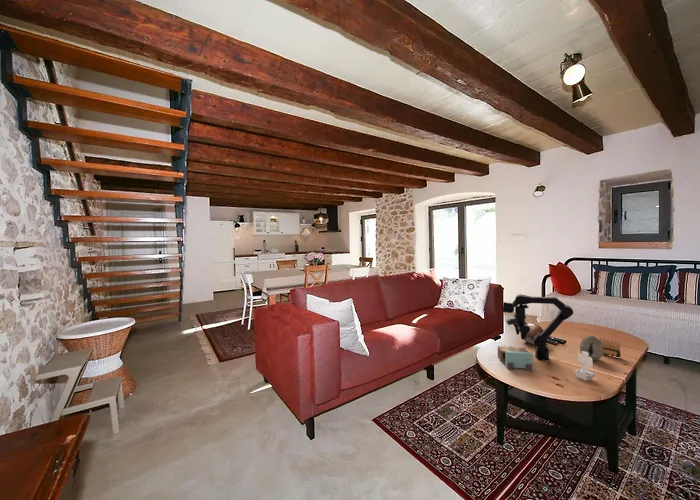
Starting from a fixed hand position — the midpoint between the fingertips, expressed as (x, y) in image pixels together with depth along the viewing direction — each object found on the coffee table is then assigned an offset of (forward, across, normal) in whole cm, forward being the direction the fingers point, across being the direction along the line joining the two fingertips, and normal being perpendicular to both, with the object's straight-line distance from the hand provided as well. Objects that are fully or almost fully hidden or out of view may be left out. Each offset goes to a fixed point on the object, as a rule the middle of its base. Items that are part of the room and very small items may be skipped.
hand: (519, 336), depth 194 cm
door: (+11, +21, -7) cm, 25 cm away
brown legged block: (+12, +15, -7) cm, 20 cm away
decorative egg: (+12, 0, +41) cm, 43 cm away
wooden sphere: (+12, -23, +15) cm, 30 cm away
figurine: (+12, +28, +24) cm, 39 cm away
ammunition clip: (+12, -8, +55) cm, 57 cm away
